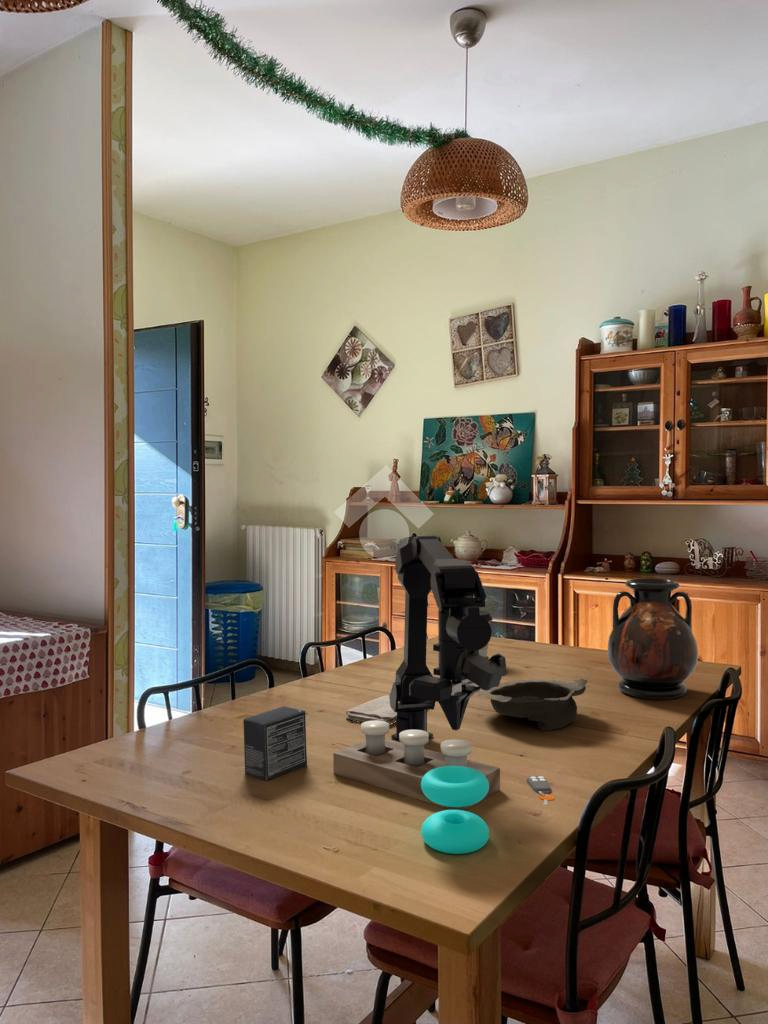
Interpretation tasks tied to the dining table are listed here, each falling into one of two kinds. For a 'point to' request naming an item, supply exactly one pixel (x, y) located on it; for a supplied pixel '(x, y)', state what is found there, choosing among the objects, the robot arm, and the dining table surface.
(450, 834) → the donuts
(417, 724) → the robot arm
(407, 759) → the knob middle
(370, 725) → the knob
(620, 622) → the amphora vase
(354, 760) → the mount
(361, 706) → the washcloth
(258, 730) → the small box
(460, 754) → the knob
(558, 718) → the stone bowl
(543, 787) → the key chain
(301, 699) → the dining table surface
